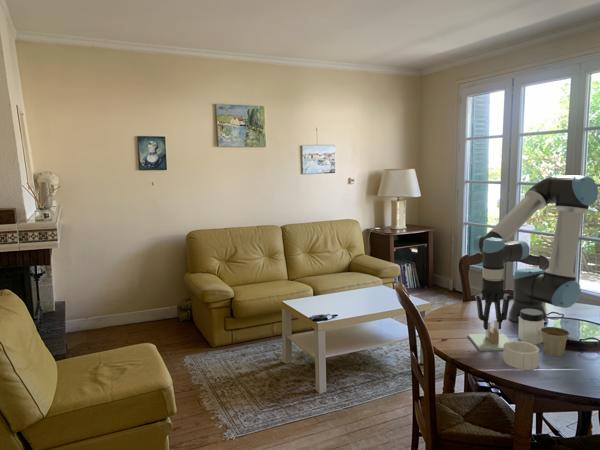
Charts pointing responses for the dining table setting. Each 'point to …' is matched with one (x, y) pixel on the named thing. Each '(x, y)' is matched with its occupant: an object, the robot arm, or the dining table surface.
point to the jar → (530, 326)
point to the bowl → (521, 355)
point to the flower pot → (554, 340)
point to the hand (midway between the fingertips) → (492, 336)
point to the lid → (489, 341)
